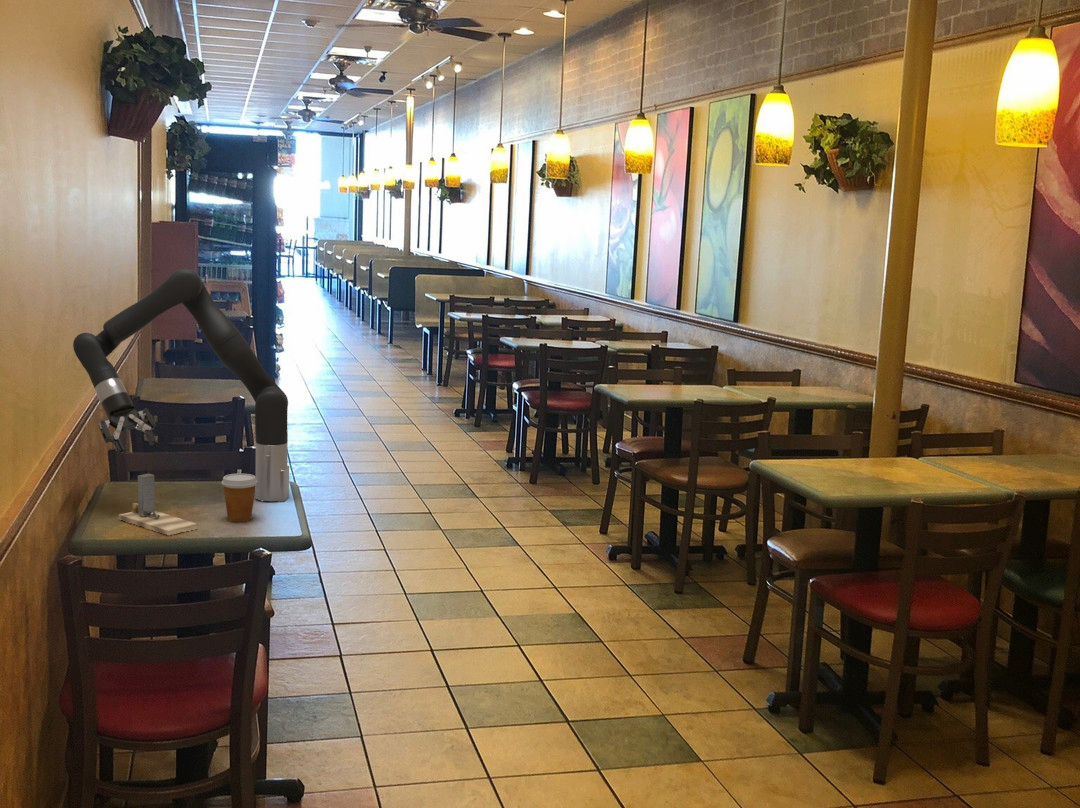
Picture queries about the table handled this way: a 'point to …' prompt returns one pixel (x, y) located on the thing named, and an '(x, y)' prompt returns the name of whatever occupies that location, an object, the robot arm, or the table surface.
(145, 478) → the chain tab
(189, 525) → the rail
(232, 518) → the disposable coffee cup
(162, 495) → the table surface
